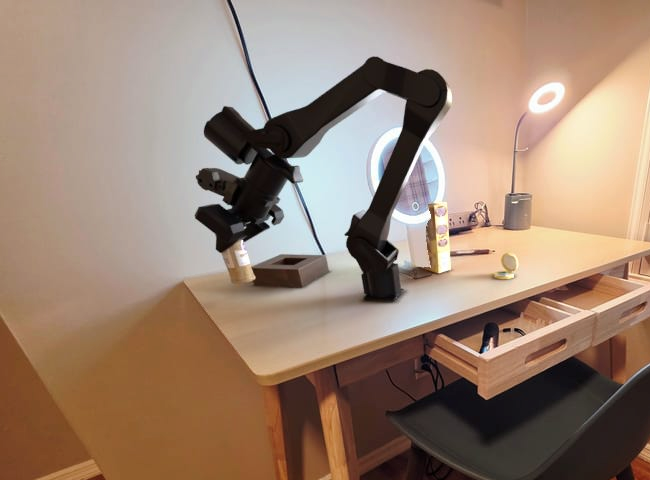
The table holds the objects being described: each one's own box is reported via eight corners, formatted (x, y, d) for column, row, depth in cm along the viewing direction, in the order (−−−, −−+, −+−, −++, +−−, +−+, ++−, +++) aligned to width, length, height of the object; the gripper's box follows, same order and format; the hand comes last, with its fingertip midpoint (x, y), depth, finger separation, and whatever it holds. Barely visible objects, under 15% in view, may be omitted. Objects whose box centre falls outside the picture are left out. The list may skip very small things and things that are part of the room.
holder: (329, 271, 91) (325, 255, 89) (302, 287, 81) (298, 269, 79) (285, 270, 93) (281, 254, 91) (253, 285, 83) (248, 267, 81)
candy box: (451, 270, 90) (448, 202, 82) (438, 274, 88) (434, 204, 80) (428, 263, 96) (423, 199, 88) (415, 267, 93) (409, 201, 85)
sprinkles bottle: (257, 281, 75) (235, 210, 69) (232, 286, 73) (206, 213, 67) (254, 276, 79) (232, 208, 72) (230, 280, 77) (205, 211, 70)
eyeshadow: (490, 276, 85) (490, 255, 82) (503, 271, 88) (503, 250, 86) (506, 280, 82) (507, 258, 80) (518, 275, 86) (519, 253, 83)
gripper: (251, 148, 72) (218, 210, 79) (181, 149, 56) (147, 227, 63) (301, 192, 76) (265, 248, 82) (248, 204, 59) (209, 273, 66)
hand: (226, 248), depth 73 cm, fingers closed on sprinkles bottle, 4 cm apart
